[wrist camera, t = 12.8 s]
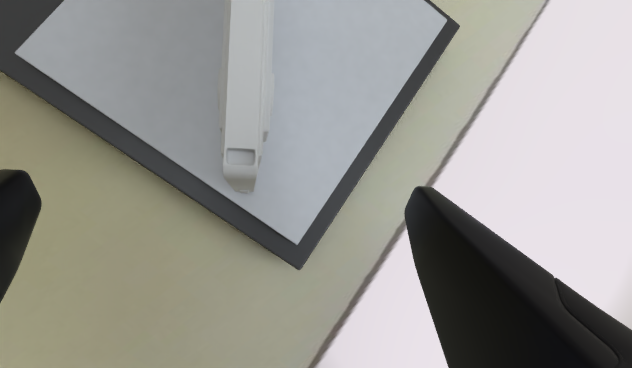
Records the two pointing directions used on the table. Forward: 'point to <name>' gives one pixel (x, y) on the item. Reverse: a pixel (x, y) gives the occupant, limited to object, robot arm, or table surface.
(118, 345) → the table surface
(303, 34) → the scale
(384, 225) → the table surface
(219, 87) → the cassette
